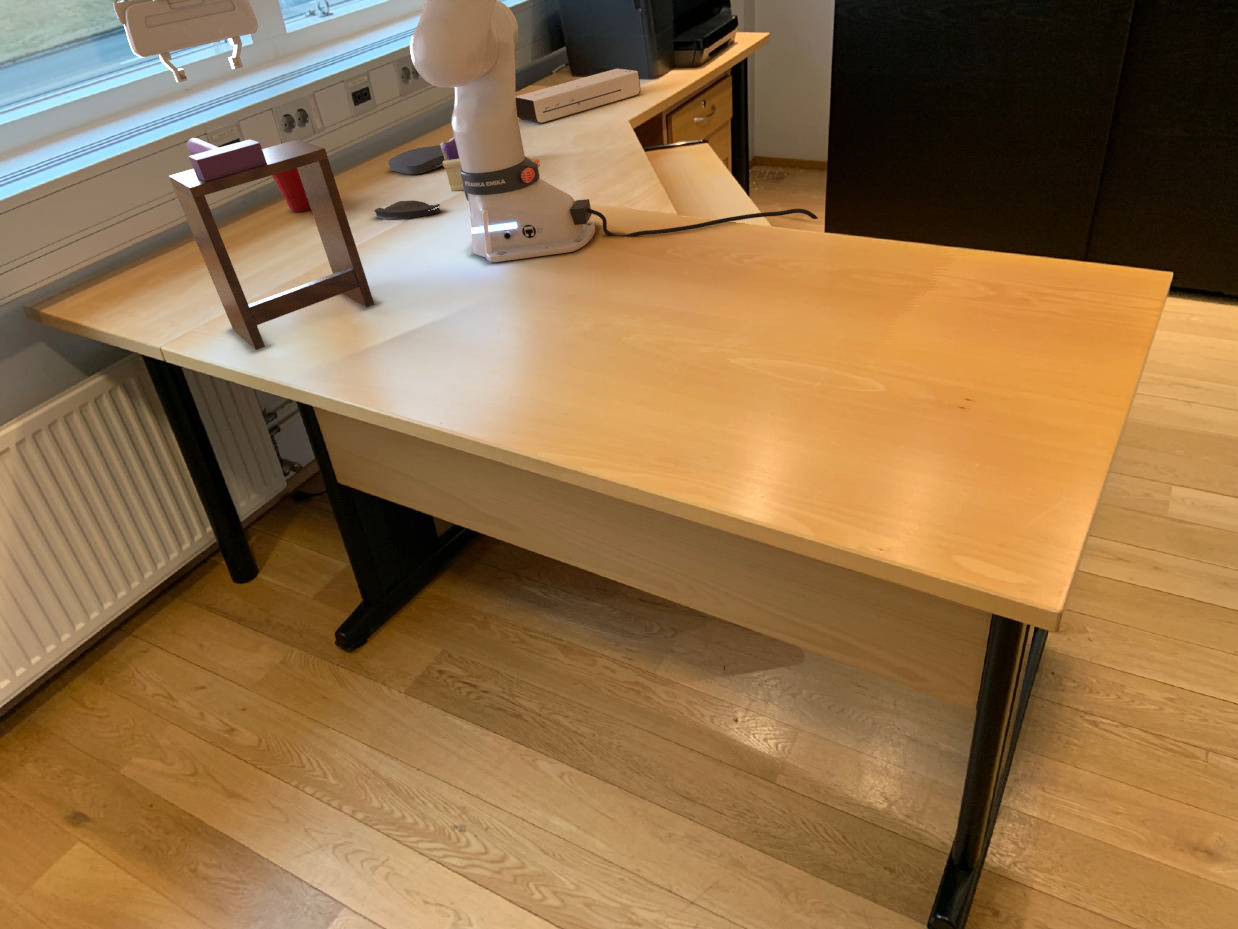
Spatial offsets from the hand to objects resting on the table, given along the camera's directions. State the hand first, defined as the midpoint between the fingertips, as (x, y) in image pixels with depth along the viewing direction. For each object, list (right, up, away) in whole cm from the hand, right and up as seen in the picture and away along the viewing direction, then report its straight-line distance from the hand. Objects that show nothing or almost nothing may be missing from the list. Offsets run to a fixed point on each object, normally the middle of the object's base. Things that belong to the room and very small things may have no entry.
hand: (210, 74), depth 149 cm
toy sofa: (+38, 0, +52) cm, 64 cm away
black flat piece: (+25, -13, +36) cm, 46 cm away
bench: (+17, -42, -5) cm, 45 cm away
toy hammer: (+8, -20, -16) cm, 28 cm away
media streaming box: (+21, +8, +68) cm, 72 cm away
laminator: (+58, +34, +98) cm, 119 cm away
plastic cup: (-3, -8, +51) cm, 52 cm away
